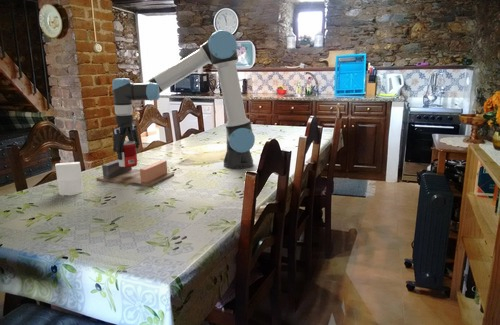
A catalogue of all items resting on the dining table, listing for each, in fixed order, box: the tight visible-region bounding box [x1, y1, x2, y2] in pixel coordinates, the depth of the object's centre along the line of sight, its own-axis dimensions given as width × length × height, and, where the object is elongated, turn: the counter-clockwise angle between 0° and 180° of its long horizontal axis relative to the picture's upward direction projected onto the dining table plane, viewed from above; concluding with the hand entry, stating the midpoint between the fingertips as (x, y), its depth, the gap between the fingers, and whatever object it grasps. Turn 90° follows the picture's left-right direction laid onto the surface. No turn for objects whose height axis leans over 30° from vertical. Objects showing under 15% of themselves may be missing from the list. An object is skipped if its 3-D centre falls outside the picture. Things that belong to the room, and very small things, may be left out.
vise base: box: [96, 159, 175, 188], centre depth 170 cm, size 29×18×7 cm, turn 70°
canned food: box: [123, 139, 138, 168], centre depth 169 cm, size 8×8×11 cm
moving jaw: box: [139, 159, 168, 183], centre depth 166 cm, size 3×16×6 cm, turn 160°
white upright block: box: [54, 161, 84, 196], centre depth 151 cm, size 9×9×12 cm
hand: (128, 164), depth 170 cm, fingers closed on canned food, 8 cm apart
